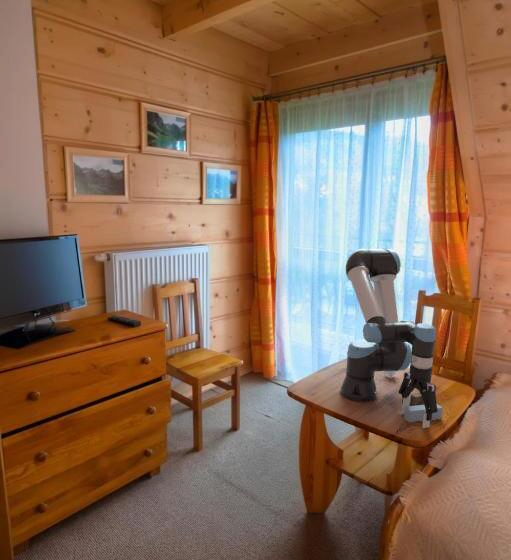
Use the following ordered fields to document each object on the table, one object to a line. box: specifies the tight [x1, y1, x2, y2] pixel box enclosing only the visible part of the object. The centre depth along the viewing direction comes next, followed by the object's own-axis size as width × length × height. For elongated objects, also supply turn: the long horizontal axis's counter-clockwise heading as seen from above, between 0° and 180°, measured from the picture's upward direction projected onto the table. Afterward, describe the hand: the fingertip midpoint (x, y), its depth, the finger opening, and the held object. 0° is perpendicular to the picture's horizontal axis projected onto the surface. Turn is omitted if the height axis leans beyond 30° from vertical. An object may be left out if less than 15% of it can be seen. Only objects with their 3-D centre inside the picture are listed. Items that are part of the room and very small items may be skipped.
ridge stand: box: [409, 392, 424, 406], centre depth 173 cm, size 10×7×6 cm
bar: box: [403, 403, 444, 423], centre depth 165 cm, size 4×14×5 cm, turn 104°
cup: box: [384, 371, 397, 379], centre depth 205 cm, size 7×10×8 cm
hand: (415, 420), depth 164 cm, fingers open, 10 cm apart
